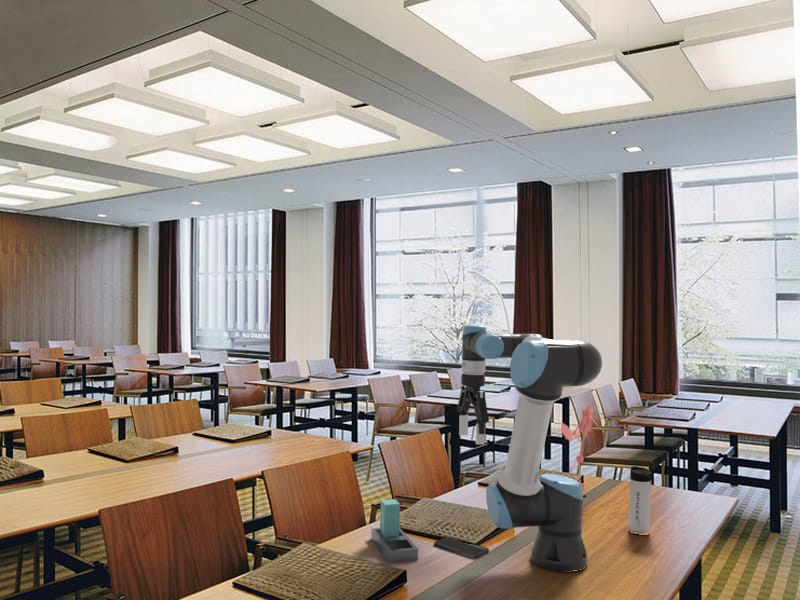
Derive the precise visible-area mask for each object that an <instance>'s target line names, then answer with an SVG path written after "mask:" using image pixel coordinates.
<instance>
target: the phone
mask: <svg viewBox="0 0 800 600" xmlns="http://www.w3.org/2000/svg"><path fill="white" fill-rule="evenodd" d="M449 537H451V538H449ZM456 539H457V538H456V537H453V536H445V537H442V538H440V539H438V540H436V541H435V540H434V542H433V546H434V547H436V548H439V549H441V550H444V551H448V552H451V553H454V554H458V555H460V556H463V557H466V558H470V559H472V560H477V559H479V558H482V557H483V556H485V555H487V554H489V553H490V549H489V548H488V547H484V546H482V545H478V544H475V543H472V544H467V543H463V542H460V541H458V540H456Z"/></svg>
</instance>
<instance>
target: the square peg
mask: <svg viewBox="0 0 800 600" xmlns="http://www.w3.org/2000/svg"><path fill="white" fill-rule="evenodd" d="M400 512H401V504H400V502H399V501H398V500H397V499H396V498H393V499H380V514H379V515H380V516H379V517H380V518H379V519H380V520H379V521H380V523H379V528H380V536H381V537H394V536H399V527H400V518H401V517H400V515H401V513H400Z"/></svg>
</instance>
